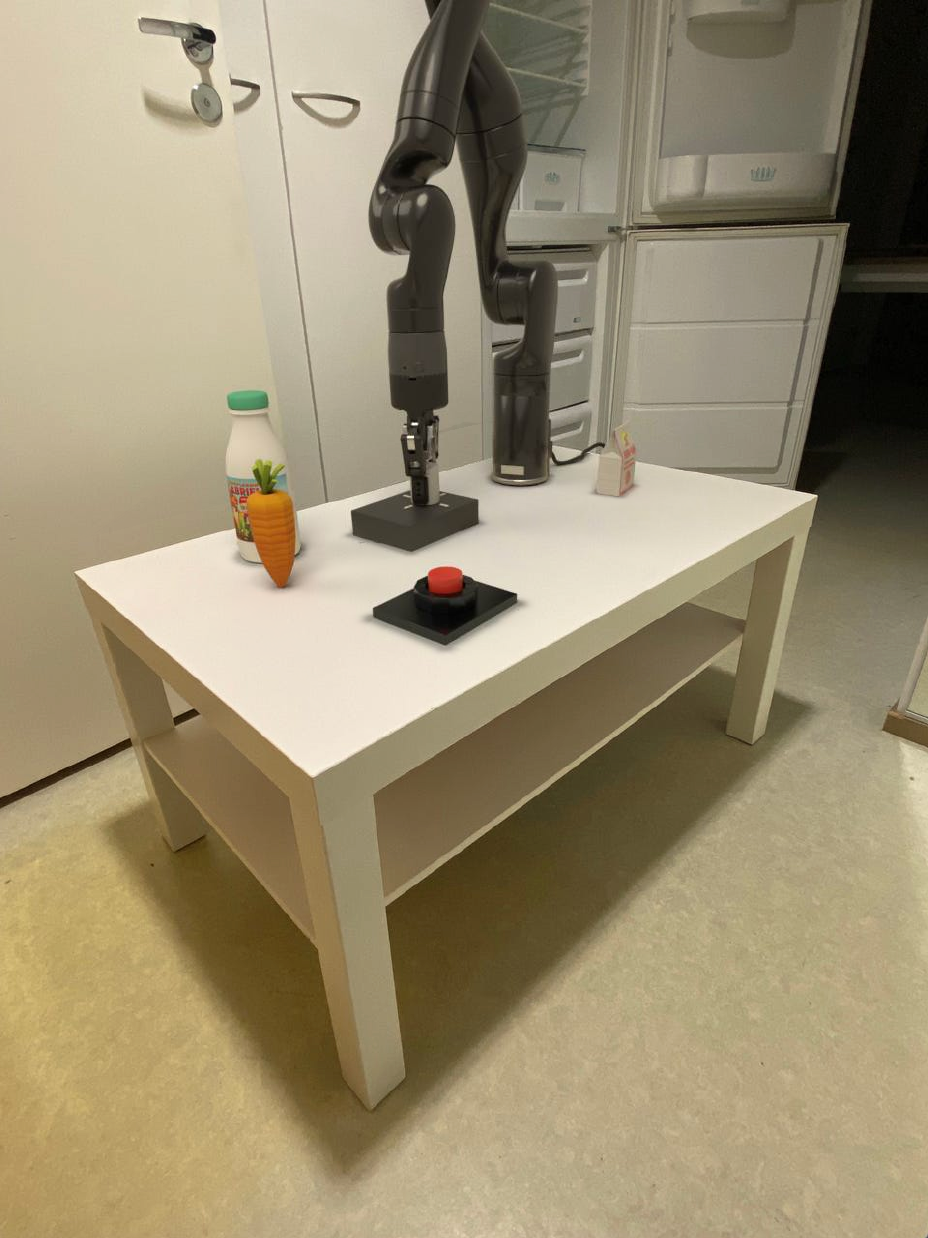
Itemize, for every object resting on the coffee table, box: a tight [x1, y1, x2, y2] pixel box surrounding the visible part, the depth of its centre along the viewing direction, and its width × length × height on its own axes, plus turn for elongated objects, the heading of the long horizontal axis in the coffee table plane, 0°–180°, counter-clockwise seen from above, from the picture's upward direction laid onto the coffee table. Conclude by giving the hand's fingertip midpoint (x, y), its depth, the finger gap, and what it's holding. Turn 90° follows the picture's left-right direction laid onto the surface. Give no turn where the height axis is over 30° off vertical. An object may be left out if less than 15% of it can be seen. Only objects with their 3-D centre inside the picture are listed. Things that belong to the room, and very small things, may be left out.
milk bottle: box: [225, 389, 301, 564], centre depth 86 cm, size 8×8×20 cm
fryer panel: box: [350, 489, 480, 553], centre depth 97 cm, size 14×11×4 cm
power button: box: [427, 566, 464, 594], centre depth 73 cm, size 4×4×2 cm
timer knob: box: [409, 462, 440, 505], centre depth 96 cm, size 4×4×5 cm
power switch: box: [372, 574, 518, 646], centre depth 74 cm, size 12×10×3 cm
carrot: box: [246, 459, 296, 589], centre depth 77 cm, size 5×5×15 cm
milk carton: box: [596, 422, 638, 497], centre depth 111 cm, size 4×7×10 cm, turn 149°
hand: (424, 498), depth 97 cm, fingers closed on timer knob, 4 cm apart
